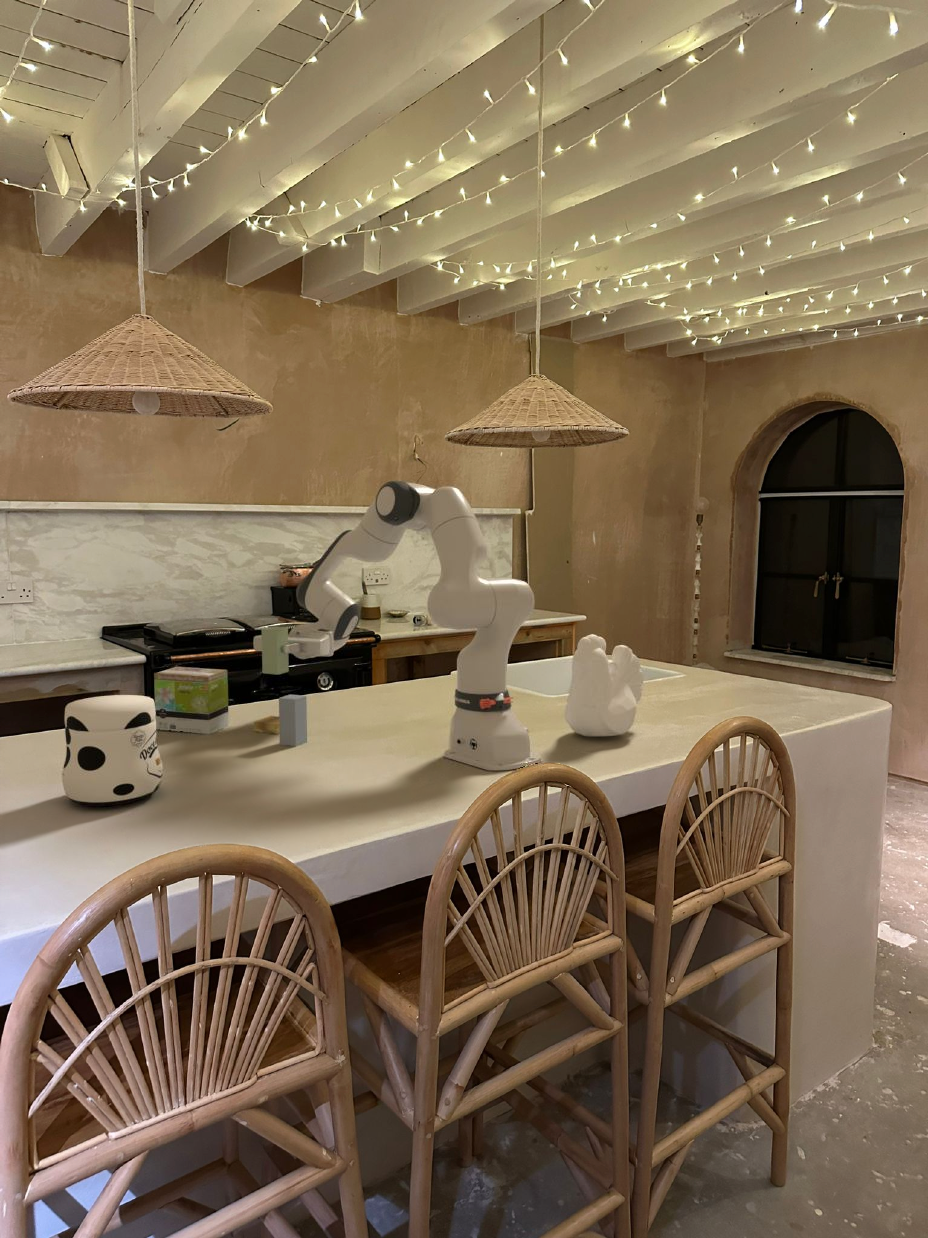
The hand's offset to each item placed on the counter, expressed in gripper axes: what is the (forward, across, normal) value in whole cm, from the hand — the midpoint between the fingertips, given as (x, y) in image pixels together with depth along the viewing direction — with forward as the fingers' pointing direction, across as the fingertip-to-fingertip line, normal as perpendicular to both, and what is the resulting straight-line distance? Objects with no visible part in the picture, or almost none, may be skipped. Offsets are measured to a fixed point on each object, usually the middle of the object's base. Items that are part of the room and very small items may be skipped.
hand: (272, 648), depth 210 cm
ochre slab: (0, 0, +20) cm, 20 cm away
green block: (-1, 0, +6) cm, 6 cm away
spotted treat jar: (+56, +5, +20) cm, 59 cm away
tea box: (+7, -20, +21) cm, 30 cm away
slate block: (+9, +12, +20) cm, 25 cm away
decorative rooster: (-31, +77, +20) cm, 85 cm away
